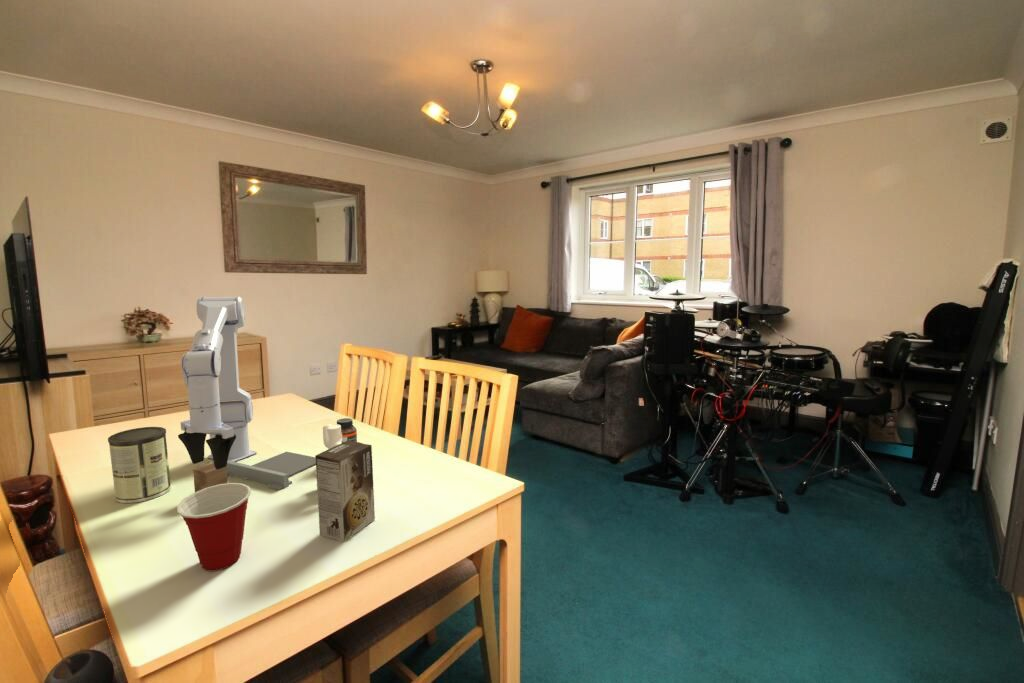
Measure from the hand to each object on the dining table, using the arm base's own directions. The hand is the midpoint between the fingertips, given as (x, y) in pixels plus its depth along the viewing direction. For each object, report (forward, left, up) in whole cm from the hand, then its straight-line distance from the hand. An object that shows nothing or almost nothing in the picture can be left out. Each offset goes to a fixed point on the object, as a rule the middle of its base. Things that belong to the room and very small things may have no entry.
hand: (209, 464), depth 106 cm
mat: (0, +21, -8) cm, 22 cm away
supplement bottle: (+12, +29, -8) cm, 32 cm away
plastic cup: (+25, -16, -8) cm, 31 cm away
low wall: (0, +11, -8) cm, 13 cm away
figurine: (+22, +15, -8) cm, 28 cm away
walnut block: (0, 0, -8) cm, 8 cm away
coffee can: (-16, -5, -8) cm, 18 cm away
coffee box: (+37, +2, -8) cm, 38 cm away
